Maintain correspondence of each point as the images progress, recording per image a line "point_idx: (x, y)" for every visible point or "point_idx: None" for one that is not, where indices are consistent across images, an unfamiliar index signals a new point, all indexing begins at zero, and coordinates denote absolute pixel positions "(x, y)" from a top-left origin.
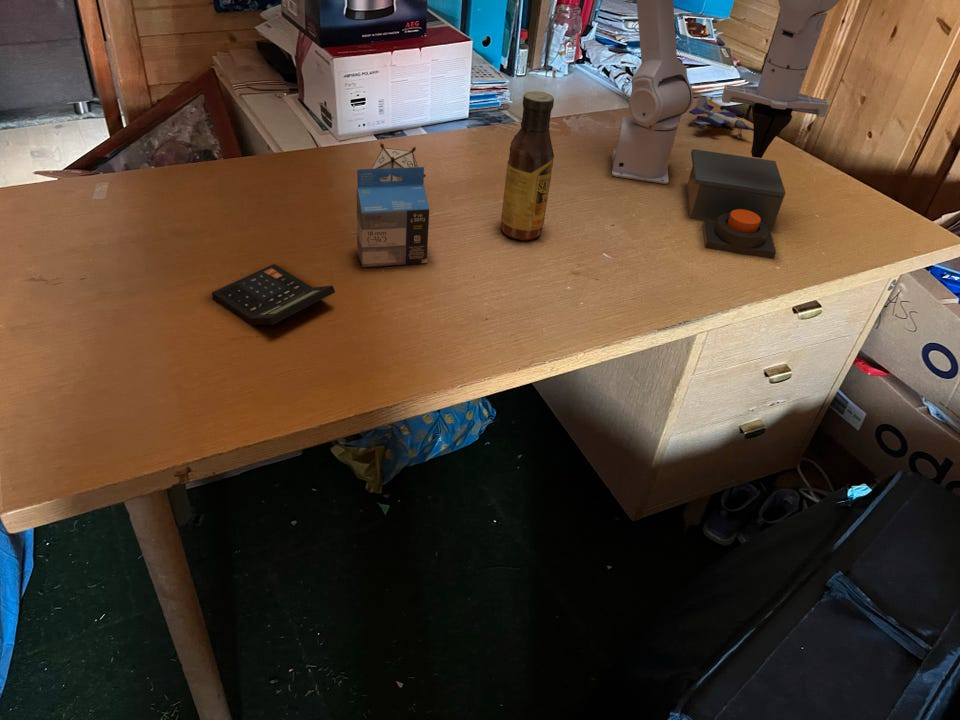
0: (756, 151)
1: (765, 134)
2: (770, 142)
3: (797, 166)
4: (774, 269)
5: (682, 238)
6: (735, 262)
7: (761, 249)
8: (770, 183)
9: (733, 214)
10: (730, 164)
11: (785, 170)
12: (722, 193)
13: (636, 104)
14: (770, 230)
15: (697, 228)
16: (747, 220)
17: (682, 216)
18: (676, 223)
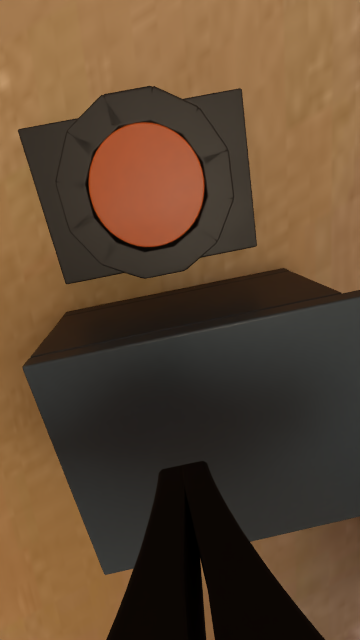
0: (201, 484)
1: (194, 629)
2: (139, 562)
3: (67, 633)
4: (10, 63)
5: (301, 133)
6: (134, 47)
7: (66, 125)
8: (92, 411)
9: (193, 179)
10: (246, 478)
11: (88, 607)
12: (248, 304)
13: None
14: (68, 312)
15: (261, 223)
16: (136, 152)
17: (303, 273)
18: (318, 222)
